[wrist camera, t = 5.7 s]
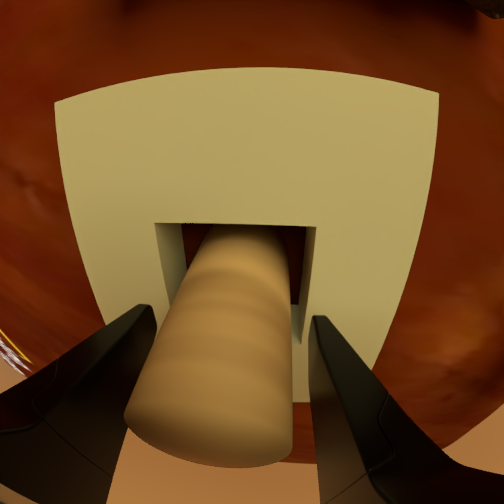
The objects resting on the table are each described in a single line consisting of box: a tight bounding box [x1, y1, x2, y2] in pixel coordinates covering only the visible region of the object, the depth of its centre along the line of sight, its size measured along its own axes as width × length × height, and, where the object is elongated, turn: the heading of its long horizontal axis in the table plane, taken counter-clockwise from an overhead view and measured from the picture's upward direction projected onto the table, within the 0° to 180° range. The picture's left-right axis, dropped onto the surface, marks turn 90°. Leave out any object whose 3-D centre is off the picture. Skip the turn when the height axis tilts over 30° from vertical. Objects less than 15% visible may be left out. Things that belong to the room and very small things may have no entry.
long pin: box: [124, 223, 293, 468], centre depth 8 cm, size 4×4×8 cm
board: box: [55, 68, 439, 402], centre depth 11 cm, size 12×14×2 cm
